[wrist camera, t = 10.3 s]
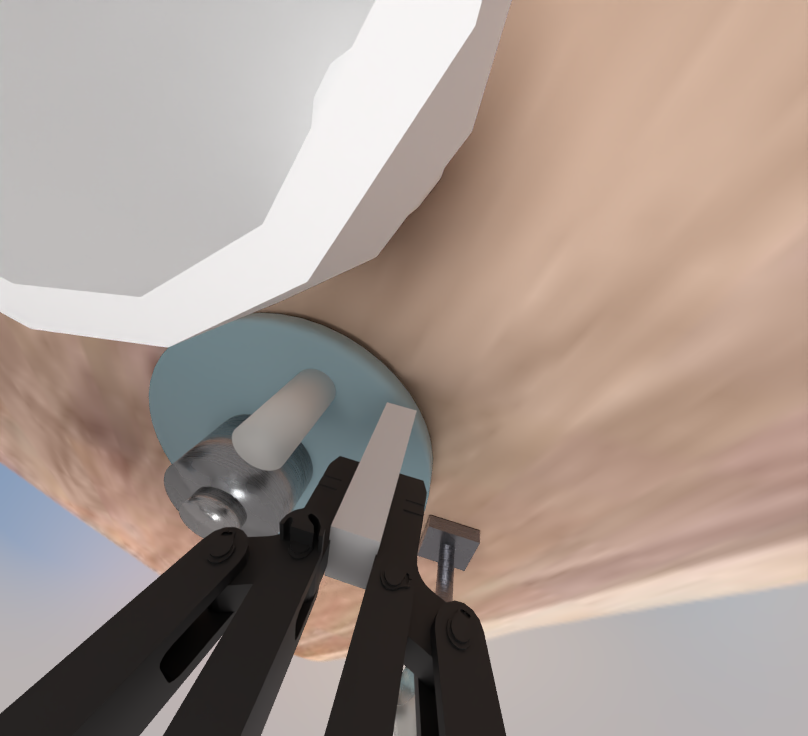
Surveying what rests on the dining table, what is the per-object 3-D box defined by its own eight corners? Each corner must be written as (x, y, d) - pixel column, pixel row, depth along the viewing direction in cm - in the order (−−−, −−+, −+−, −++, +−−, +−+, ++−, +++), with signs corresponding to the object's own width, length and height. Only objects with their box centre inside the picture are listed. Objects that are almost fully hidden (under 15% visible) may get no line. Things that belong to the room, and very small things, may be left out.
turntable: (196, 493, 27) (115, 571, 21) (149, 277, 18) (-23, 305, 11) (401, 562, 25) (380, 670, 19) (471, 363, 16) (472, 452, 10)
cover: (223, 476, 22) (161, 541, 17) (212, 401, 18) (131, 457, 14) (310, 505, 21) (269, 579, 17) (315, 432, 18) (265, 501, 13)
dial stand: (416, 543, 25) (380, 765, 15) (427, 514, 23) (394, 745, 13) (466, 559, 25) (464, 798, 14) (482, 531, 23) (492, 784, 12)
